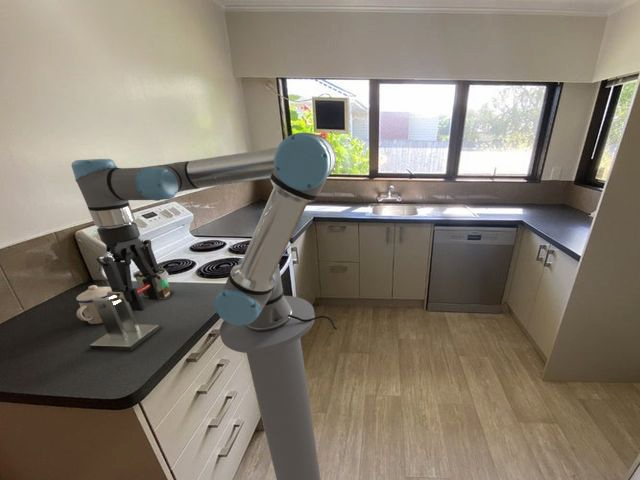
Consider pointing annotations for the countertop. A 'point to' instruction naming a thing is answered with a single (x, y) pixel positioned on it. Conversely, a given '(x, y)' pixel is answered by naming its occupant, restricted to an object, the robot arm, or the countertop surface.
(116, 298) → the lever
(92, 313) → the teacup with lid
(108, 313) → the bracket
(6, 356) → the countertop surface
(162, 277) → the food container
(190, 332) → the countertop surface
